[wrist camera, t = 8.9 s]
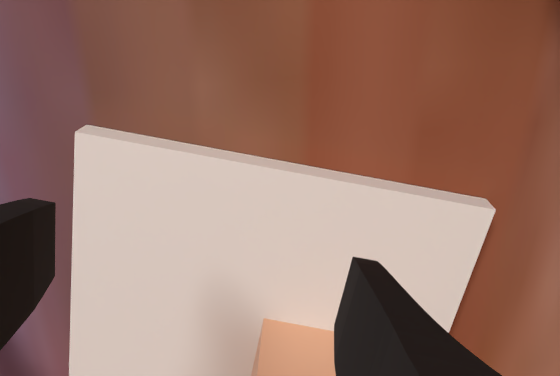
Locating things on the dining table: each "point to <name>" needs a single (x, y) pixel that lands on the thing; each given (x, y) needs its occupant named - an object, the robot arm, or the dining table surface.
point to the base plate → (239, 251)
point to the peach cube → (293, 350)
